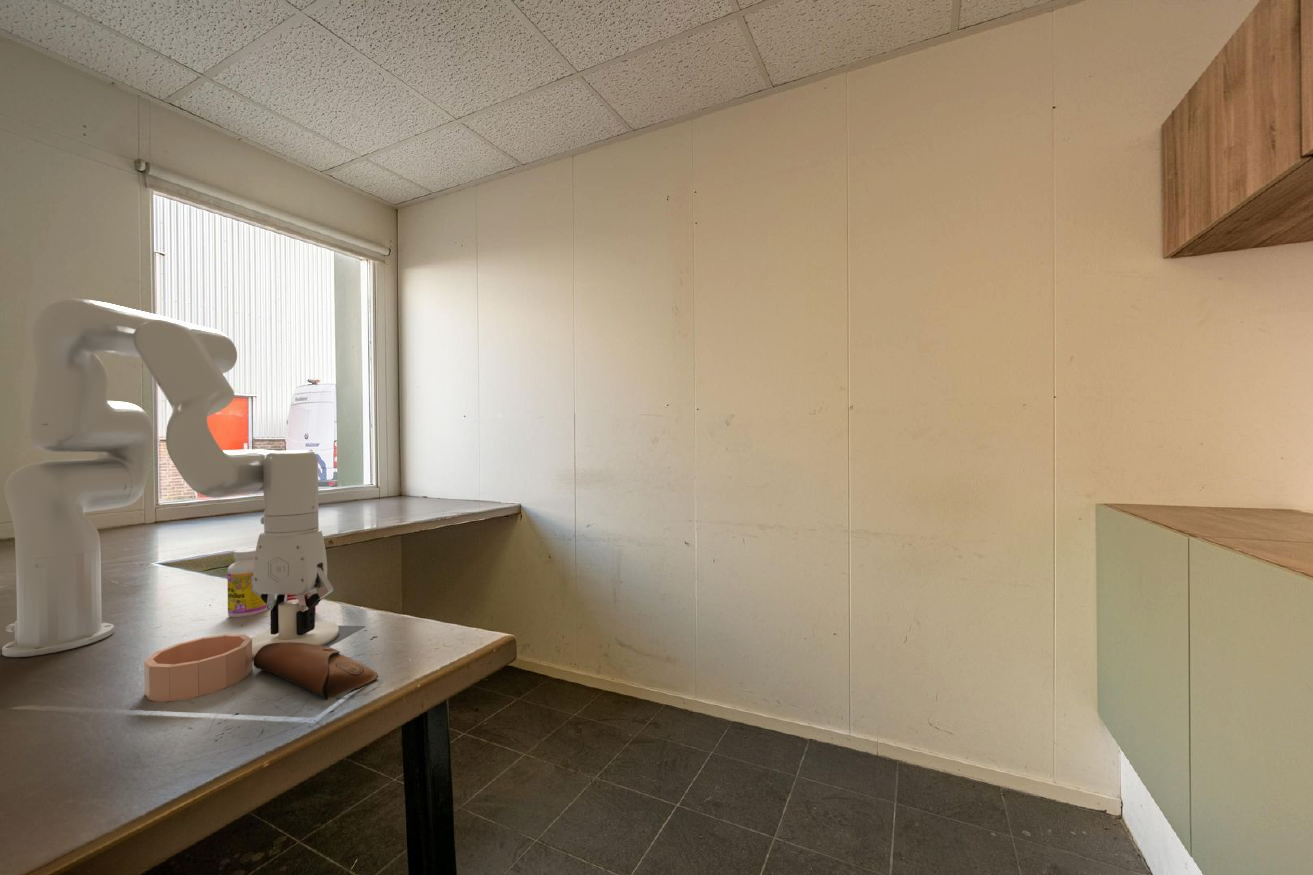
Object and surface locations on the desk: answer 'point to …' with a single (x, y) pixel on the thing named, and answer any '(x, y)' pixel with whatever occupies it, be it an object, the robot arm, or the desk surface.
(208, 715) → the desk surface
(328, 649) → the sunglasses case
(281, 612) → the lid
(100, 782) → the desk surface
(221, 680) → the bowl
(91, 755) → the desk surface
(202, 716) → the desk surface
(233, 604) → the supplement bottle
